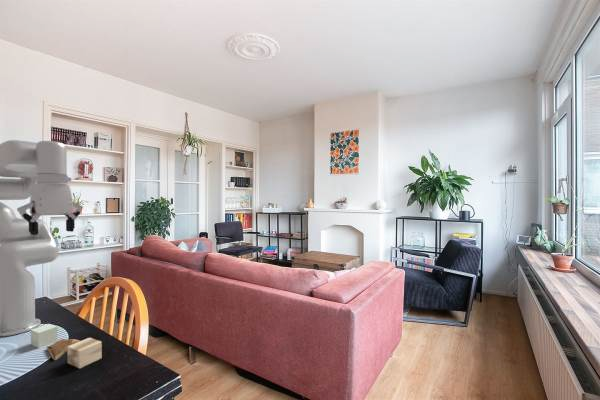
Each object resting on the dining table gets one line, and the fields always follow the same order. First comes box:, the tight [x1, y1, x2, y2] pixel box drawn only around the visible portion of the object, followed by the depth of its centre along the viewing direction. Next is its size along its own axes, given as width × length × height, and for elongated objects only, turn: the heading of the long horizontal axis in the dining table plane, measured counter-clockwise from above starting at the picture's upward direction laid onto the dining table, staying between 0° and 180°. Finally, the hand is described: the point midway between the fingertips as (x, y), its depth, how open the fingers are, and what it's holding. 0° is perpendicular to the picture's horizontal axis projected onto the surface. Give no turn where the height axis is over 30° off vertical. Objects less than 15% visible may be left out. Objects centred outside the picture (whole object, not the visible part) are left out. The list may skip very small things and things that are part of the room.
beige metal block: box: [67, 337, 103, 369], centre depth 86 cm, size 6×6×5 cm
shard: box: [46, 338, 81, 361], centre depth 91 cm, size 11×8×2 cm
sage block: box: [30, 323, 58, 349], centre depth 96 cm, size 5×5×5 cm
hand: (52, 232), depth 95 cm, fingers open, 9 cm apart
